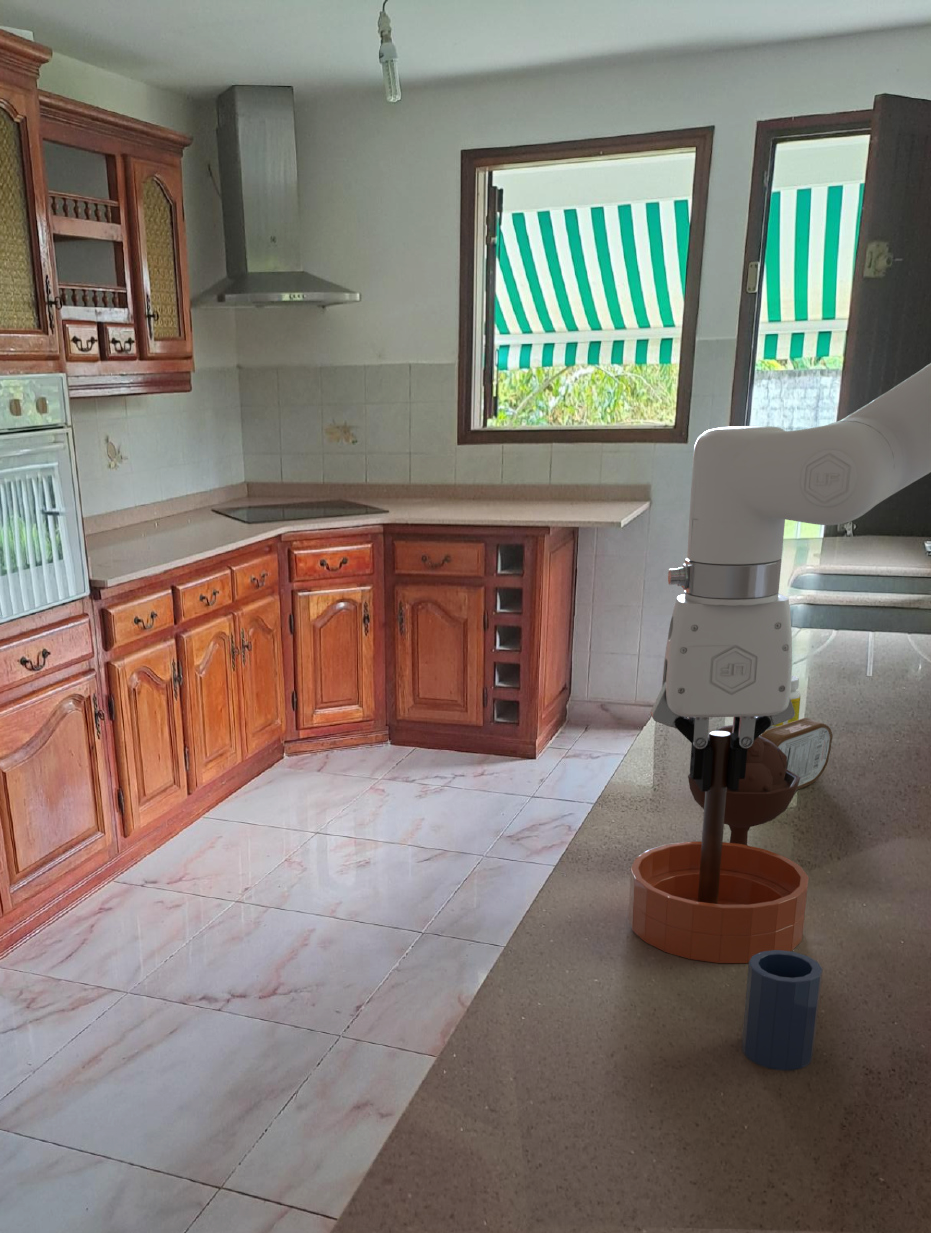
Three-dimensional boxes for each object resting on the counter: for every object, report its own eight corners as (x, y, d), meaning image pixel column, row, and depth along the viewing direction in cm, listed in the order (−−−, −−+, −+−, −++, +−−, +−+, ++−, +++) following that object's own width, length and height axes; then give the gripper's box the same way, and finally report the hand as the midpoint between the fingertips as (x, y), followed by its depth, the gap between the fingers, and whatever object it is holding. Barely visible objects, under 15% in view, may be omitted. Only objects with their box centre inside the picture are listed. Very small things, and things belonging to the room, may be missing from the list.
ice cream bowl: (761, 889, 117) (774, 747, 112) (663, 861, 125) (671, 727, 120) (811, 858, 124) (825, 722, 118) (715, 833, 131) (724, 705, 126)
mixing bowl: (776, 896, 115) (781, 840, 113) (823, 969, 101) (830, 907, 99) (618, 897, 117) (620, 842, 115) (643, 969, 103) (646, 908, 101)
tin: (810, 773, 149) (816, 710, 146) (833, 779, 146) (840, 714, 143) (739, 801, 141) (744, 735, 138) (761, 808, 138) (767, 740, 135)
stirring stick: (714, 913, 110) (728, 730, 103) (718, 921, 108) (733, 736, 102) (694, 913, 110) (707, 730, 103) (698, 921, 108) (712, 736, 102)
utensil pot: (800, 1041, 91) (810, 949, 88) (820, 1077, 86) (831, 982, 83) (734, 1040, 91) (742, 949, 89) (750, 1076, 87) (759, 982, 84)
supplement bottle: (791, 730, 166) (797, 673, 163) (801, 740, 162) (806, 681, 159) (757, 731, 167) (761, 674, 164) (765, 741, 162) (770, 682, 159)
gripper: (643, 591, 95) (632, 802, 102) (843, 585, 93) (820, 800, 100) (629, 576, 102) (620, 774, 109) (816, 570, 100) (795, 772, 107)
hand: (716, 785), depth 104 cm, fingers closed on stirring stick, 1 cm apart
